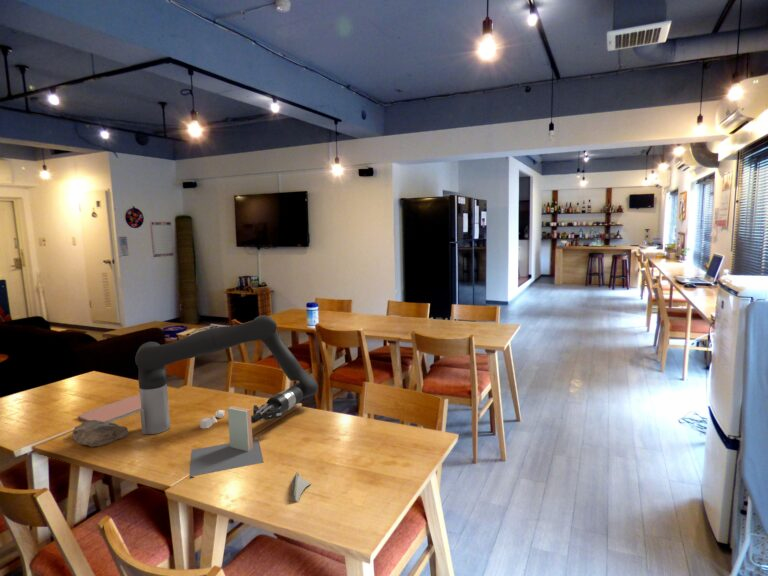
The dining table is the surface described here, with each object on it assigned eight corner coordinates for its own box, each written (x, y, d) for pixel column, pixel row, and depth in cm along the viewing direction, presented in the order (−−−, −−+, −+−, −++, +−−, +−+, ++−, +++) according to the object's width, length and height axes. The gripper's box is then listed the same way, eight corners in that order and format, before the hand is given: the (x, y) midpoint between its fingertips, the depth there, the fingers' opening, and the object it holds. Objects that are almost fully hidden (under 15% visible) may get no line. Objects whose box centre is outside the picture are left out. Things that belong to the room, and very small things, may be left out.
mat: (189, 478, 138) (189, 476, 138) (191, 451, 155) (191, 449, 155) (263, 464, 146) (263, 462, 146) (258, 439, 163) (258, 438, 163)
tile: (248, 451, 153) (246, 411, 151) (230, 446, 157) (227, 408, 155) (253, 448, 155) (250, 409, 153) (234, 444, 159) (232, 405, 157)
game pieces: (207, 429, 172) (206, 421, 172) (200, 428, 173) (199, 420, 173) (226, 416, 184) (226, 408, 183) (219, 415, 185) (219, 408, 184)
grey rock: (63, 437, 168) (89, 451, 157) (62, 425, 167) (88, 437, 156) (104, 424, 179) (130, 436, 168) (103, 412, 179) (129, 423, 168)
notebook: (141, 396, 207) (140, 392, 207) (163, 403, 199) (163, 399, 198) (76, 419, 184) (75, 414, 184) (98, 428, 176) (97, 423, 175)
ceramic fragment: (295, 476, 139) (294, 464, 139) (312, 475, 140) (311, 463, 139) (290, 505, 126) (290, 492, 125) (309, 503, 126) (309, 490, 125)
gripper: (267, 391, 178) (236, 407, 162) (295, 395, 172) (266, 413, 157) (268, 409, 179) (237, 427, 163) (296, 414, 174) (267, 433, 158)
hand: (251, 420), depth 160 cm, fingers closed
